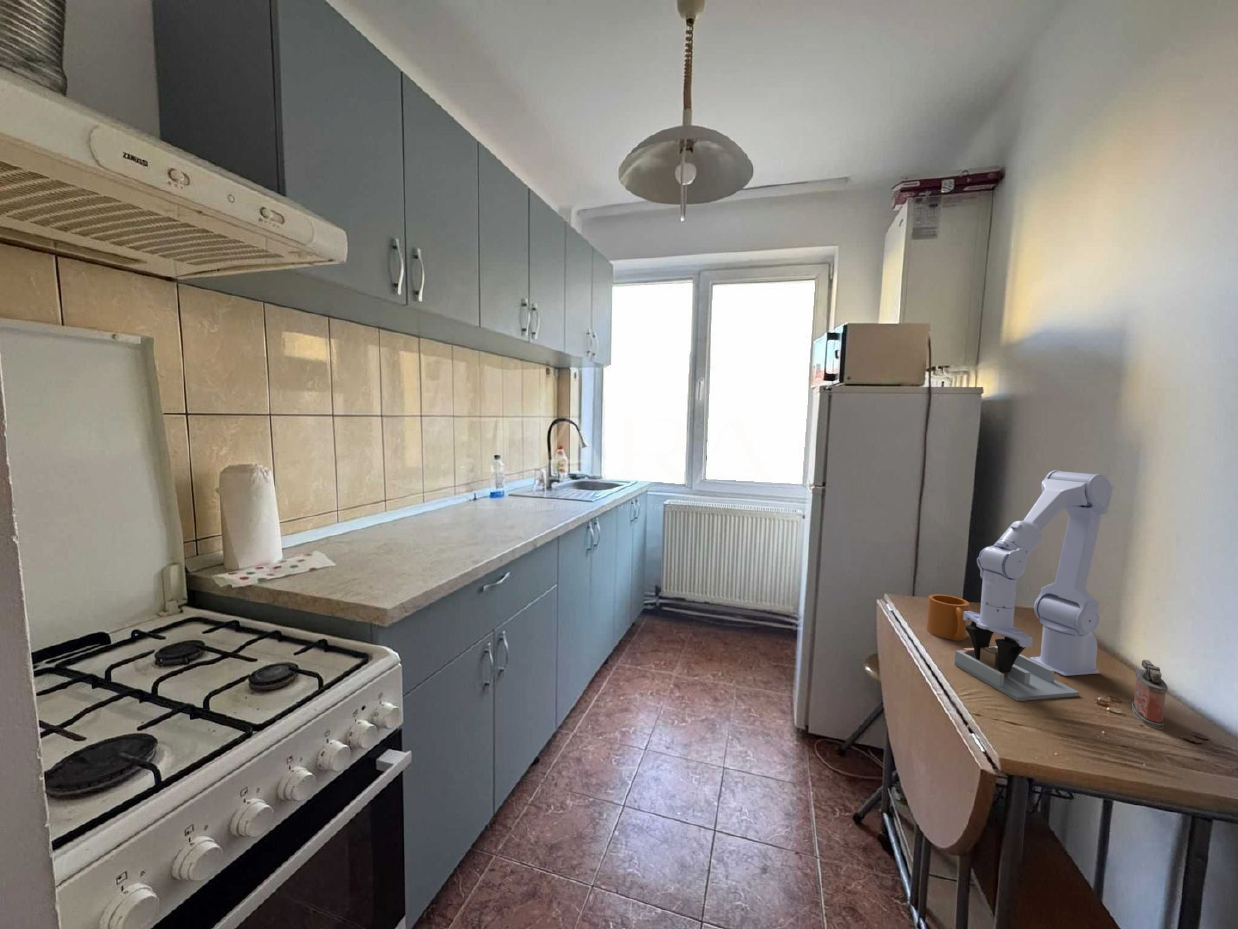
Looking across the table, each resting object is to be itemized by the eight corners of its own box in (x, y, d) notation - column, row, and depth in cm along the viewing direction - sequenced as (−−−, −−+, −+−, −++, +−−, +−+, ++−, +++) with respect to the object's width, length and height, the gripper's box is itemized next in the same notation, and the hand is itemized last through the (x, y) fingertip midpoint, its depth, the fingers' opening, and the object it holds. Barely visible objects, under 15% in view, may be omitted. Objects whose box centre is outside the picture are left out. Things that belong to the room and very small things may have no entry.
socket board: (1009, 661, 115) (1011, 645, 115) (1079, 695, 101) (1080, 678, 100) (954, 664, 113) (955, 649, 113) (1017, 701, 98) (1018, 682, 98)
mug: (934, 642, 125) (936, 607, 124) (922, 625, 136) (924, 592, 136) (977, 647, 122) (979, 611, 122) (961, 629, 134) (962, 596, 133)
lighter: (1168, 731, 89) (1174, 677, 89) (1141, 725, 91) (1147, 672, 90) (1151, 710, 96) (1157, 659, 95) (1127, 704, 98) (1132, 655, 97)
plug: (992, 669, 110) (994, 645, 109) (1007, 677, 106) (1009, 652, 106) (979, 670, 109) (980, 646, 109) (993, 678, 106) (995, 653, 105)
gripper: (953, 593, 113) (948, 651, 114) (1013, 617, 99) (1007, 683, 100) (980, 591, 114) (975, 649, 115) (1043, 616, 100) (1038, 681, 101)
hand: (992, 665), depth 108 cm, fingers open, 5 cm apart
